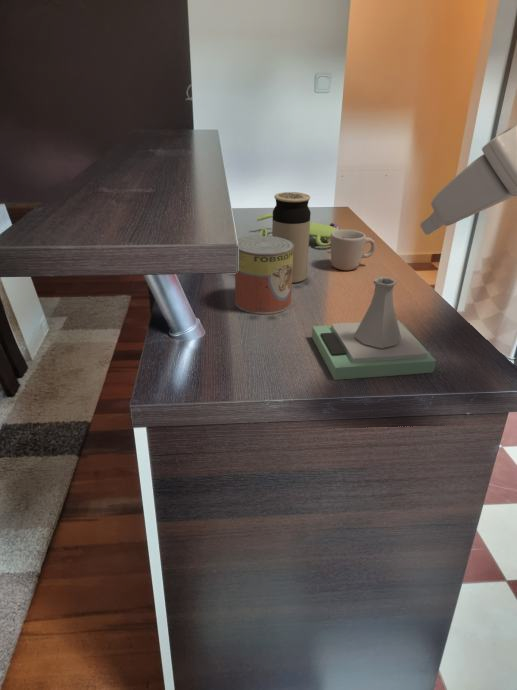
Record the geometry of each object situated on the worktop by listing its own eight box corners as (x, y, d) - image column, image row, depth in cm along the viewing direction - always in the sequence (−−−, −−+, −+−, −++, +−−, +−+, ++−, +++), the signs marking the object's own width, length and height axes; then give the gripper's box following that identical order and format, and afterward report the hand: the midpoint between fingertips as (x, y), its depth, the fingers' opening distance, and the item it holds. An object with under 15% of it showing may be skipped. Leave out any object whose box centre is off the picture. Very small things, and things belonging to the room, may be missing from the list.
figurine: (259, 228, 149) (259, 209, 147) (352, 234, 146) (354, 214, 143) (247, 247, 133) (247, 226, 131) (351, 254, 130) (353, 233, 127)
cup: (366, 260, 126) (370, 228, 122) (378, 271, 119) (382, 237, 115) (323, 262, 124) (326, 229, 120) (333, 273, 117) (336, 239, 114)
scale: (398, 332, 92) (400, 317, 90) (433, 372, 80) (437, 356, 78) (311, 337, 90) (312, 322, 88) (334, 380, 78) (335, 363, 76)
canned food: (265, 319, 96) (266, 258, 90) (223, 302, 102) (222, 244, 97) (302, 302, 103) (306, 244, 97) (261, 287, 110) (262, 232, 104)
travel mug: (284, 286, 110) (287, 201, 102) (264, 275, 116) (265, 194, 108) (313, 279, 114) (319, 197, 105) (292, 268, 120) (296, 190, 111)
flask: (345, 337, 83) (351, 279, 79) (372, 324, 88) (379, 268, 83) (382, 353, 79) (391, 293, 74) (408, 339, 83) (418, 281, 78)
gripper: (551, 124, 66) (463, 190, 76) (487, 139, 53) (390, 216, 63) (579, 165, 65) (486, 225, 76) (521, 190, 52) (418, 259, 63)
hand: (442, 222), depth 69 cm, fingers open, 8 cm apart
